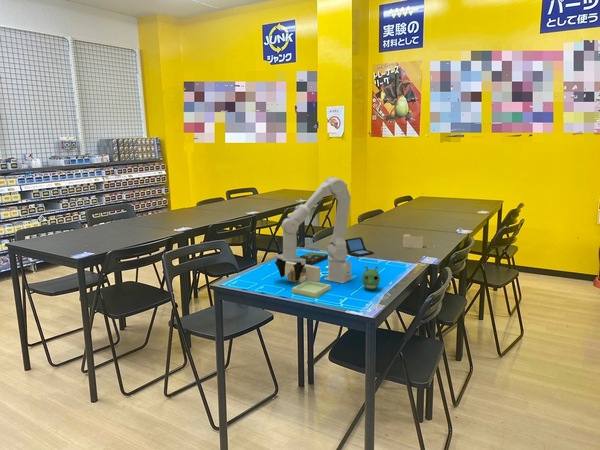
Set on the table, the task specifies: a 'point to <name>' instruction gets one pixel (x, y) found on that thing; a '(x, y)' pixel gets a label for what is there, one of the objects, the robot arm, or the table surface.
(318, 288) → the tray
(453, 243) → the table surface
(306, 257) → the disk drive
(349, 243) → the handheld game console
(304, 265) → the robot arm
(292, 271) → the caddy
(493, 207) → the table surface
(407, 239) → the model
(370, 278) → the alien toy
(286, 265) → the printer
